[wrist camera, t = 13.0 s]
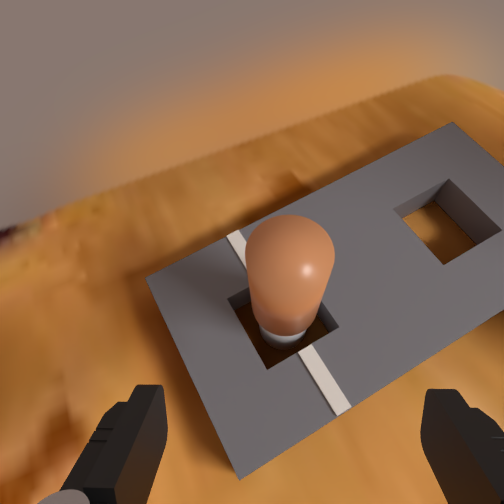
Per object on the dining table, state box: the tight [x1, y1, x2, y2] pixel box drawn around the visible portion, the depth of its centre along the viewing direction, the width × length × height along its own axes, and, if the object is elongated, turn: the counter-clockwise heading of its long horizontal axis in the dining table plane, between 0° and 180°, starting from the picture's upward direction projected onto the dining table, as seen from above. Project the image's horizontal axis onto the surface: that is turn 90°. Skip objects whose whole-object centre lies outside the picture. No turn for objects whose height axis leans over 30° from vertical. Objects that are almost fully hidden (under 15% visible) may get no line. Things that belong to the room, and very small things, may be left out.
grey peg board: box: [145, 122, 504, 480], centre depth 27 cm, size 28×14×3 cm, turn 119°
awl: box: [245, 215, 335, 350], centre depth 22 cm, size 4×4×12 cm
